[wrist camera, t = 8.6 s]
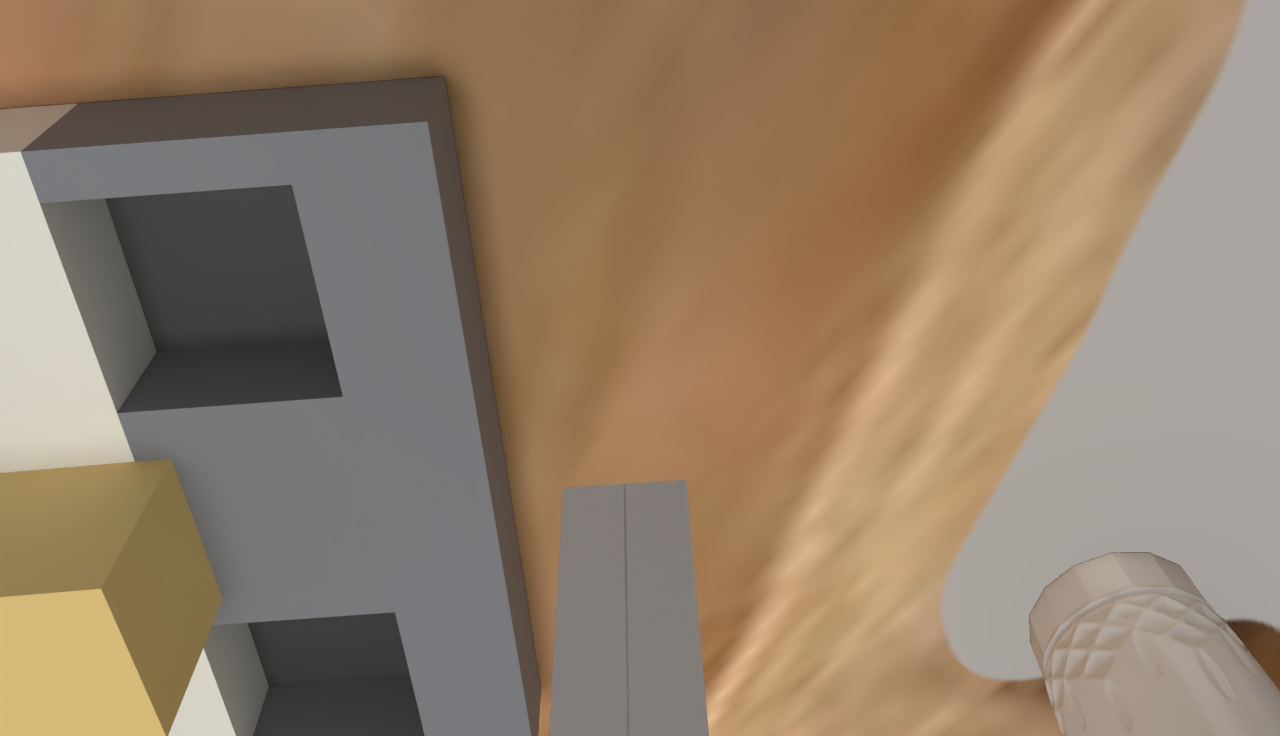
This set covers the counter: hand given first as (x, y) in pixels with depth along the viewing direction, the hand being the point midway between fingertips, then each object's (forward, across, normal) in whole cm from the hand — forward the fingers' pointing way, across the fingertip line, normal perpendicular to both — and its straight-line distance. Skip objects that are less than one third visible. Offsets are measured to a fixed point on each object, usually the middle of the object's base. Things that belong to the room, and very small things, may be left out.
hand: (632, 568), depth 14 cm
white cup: (+23, +18, -25) cm, 38 cm away
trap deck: (+22, -14, -14) cm, 30 cm away
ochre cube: (+18, -18, -14) cm, 29 cm away
